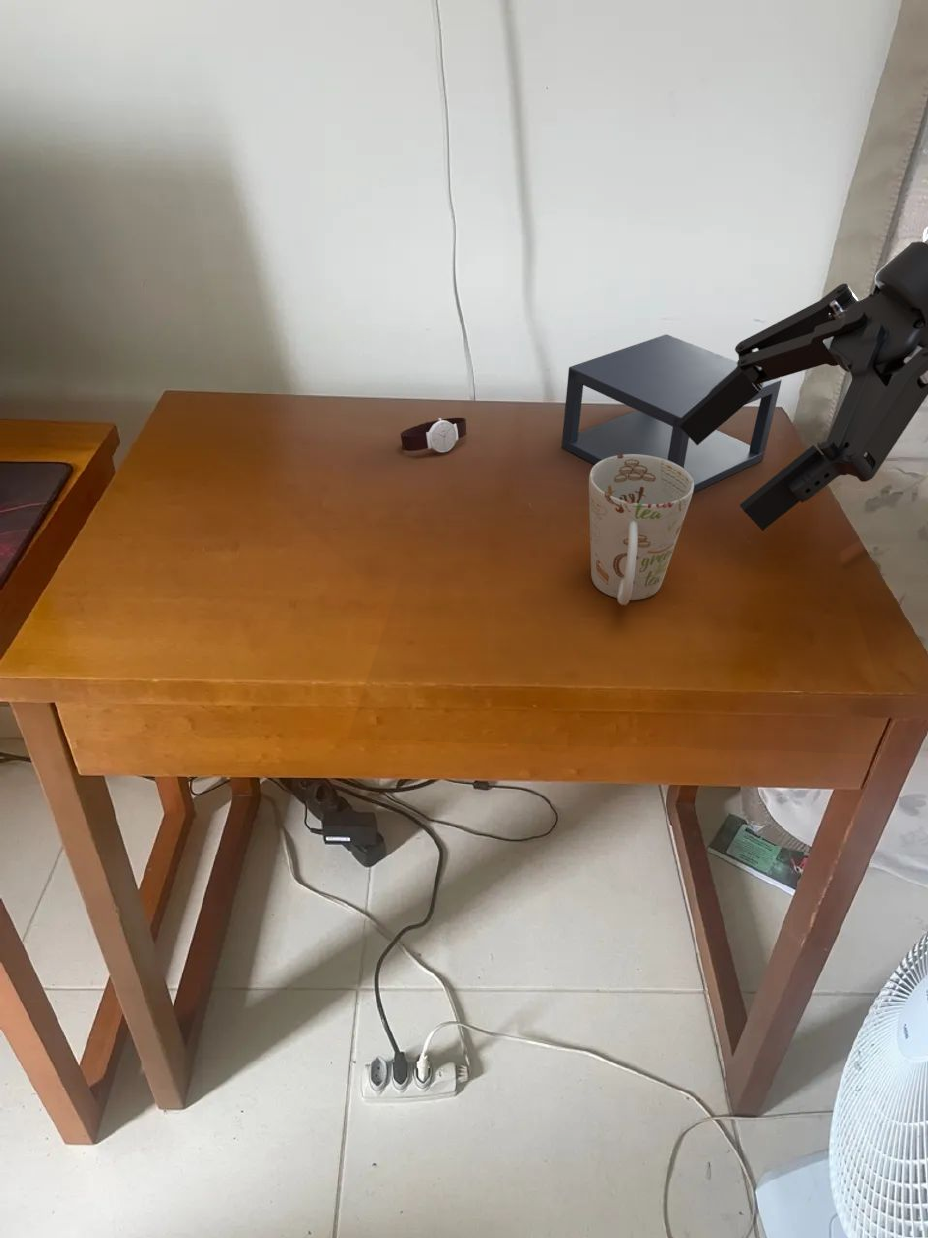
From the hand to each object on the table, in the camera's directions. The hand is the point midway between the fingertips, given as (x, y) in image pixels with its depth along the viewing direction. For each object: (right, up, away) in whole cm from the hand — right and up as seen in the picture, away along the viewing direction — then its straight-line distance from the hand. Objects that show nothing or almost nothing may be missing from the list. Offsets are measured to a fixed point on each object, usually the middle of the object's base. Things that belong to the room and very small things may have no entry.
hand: (716, 473), depth 77 cm
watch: (-23, +7, +26) cm, 36 cm away
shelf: (+1, +6, +26) cm, 27 cm away
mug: (-6, -10, +6) cm, 13 cm away
